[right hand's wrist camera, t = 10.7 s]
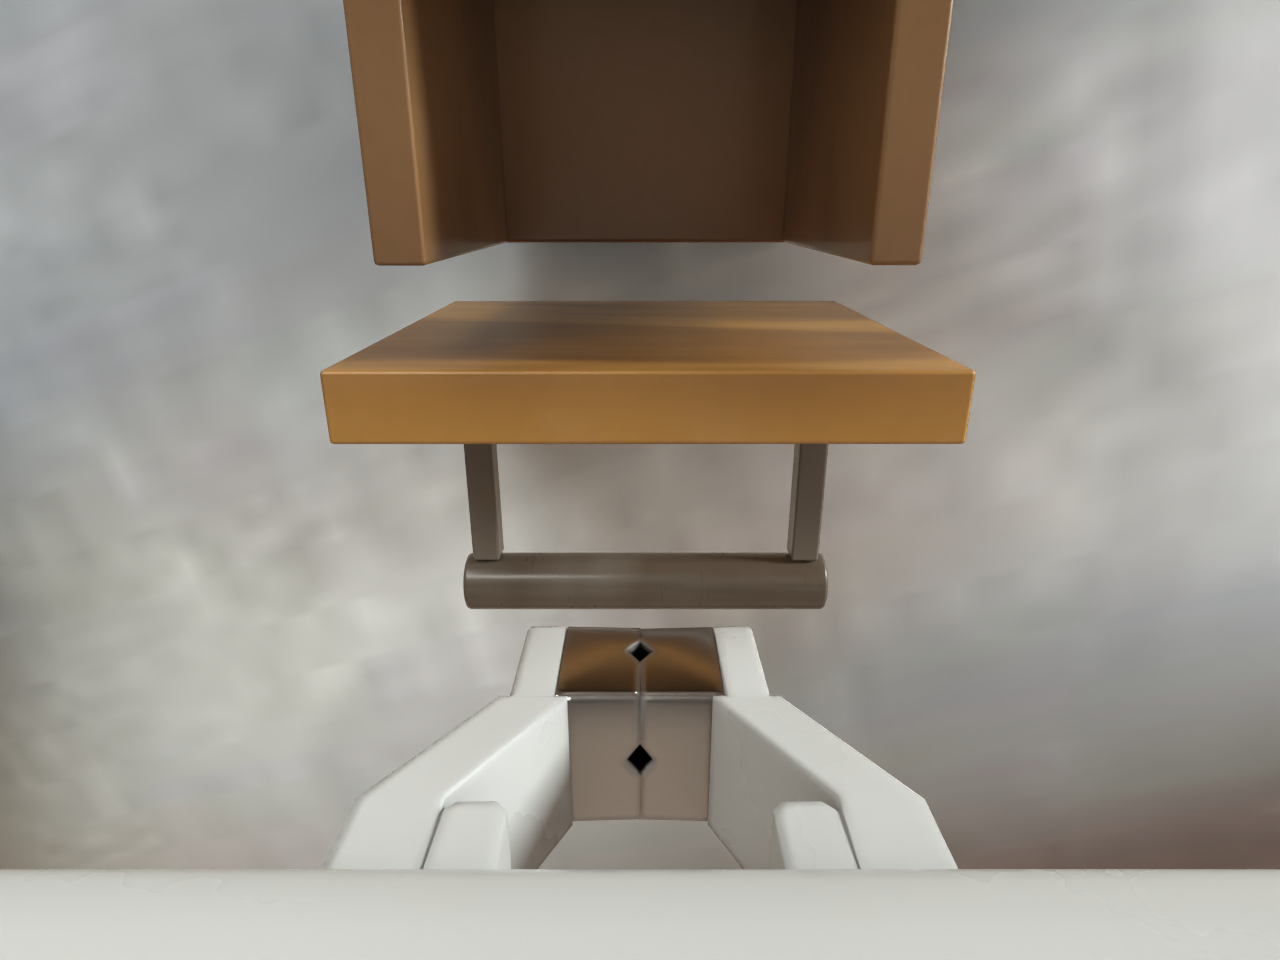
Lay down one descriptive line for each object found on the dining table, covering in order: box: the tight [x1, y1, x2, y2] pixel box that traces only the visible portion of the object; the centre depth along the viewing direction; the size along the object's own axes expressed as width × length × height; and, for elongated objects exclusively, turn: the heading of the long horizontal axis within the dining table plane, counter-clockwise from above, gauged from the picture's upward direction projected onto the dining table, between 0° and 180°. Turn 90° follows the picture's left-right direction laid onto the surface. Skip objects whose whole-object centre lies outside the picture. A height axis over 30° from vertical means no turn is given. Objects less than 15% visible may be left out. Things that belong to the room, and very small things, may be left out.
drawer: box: [320, 0, 975, 609], centre depth 14 cm, size 22×10×9 cm, turn 0°
